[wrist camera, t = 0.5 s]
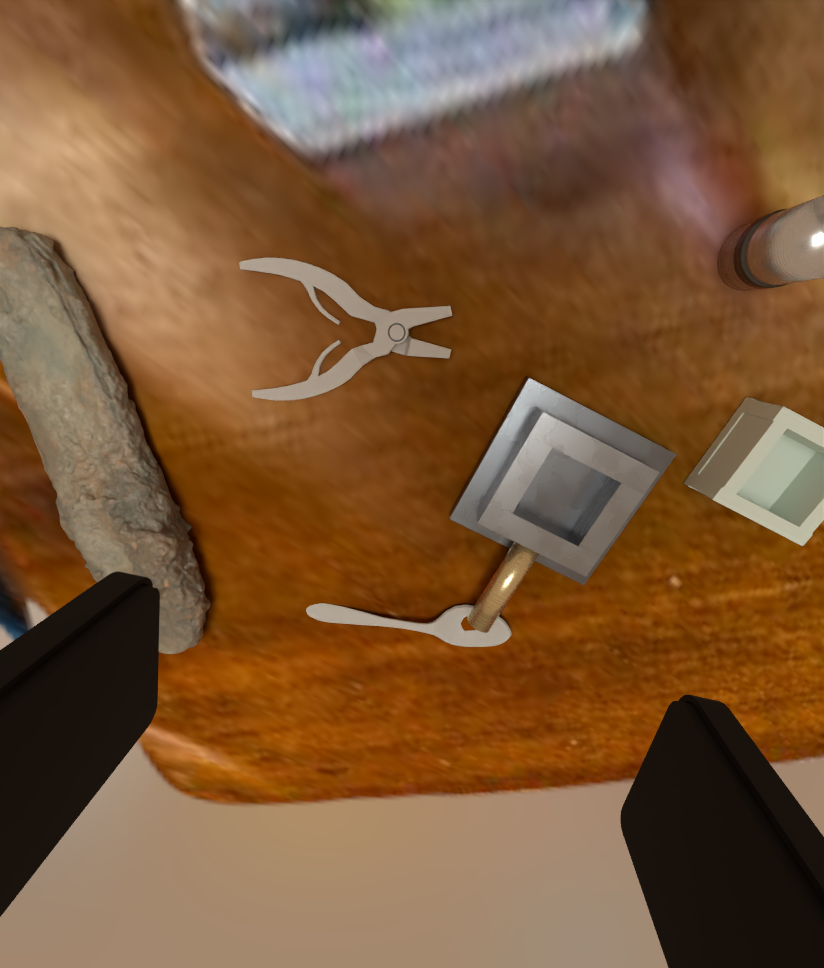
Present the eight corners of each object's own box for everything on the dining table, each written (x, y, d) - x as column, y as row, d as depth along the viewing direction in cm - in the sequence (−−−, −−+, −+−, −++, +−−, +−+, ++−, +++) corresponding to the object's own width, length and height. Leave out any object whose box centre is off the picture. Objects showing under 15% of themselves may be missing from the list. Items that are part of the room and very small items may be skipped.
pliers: (233, 255, 32) (454, 253, 31) (243, 259, 33) (454, 257, 32) (248, 401, 35) (449, 404, 34) (256, 398, 36) (449, 401, 35)
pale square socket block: (746, 396, 33) (784, 405, 29) (831, 442, 34) (880, 456, 30) (683, 483, 35) (711, 500, 31) (764, 524, 36) (801, 547, 32)
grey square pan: (526, 376, 34) (534, 380, 30) (669, 450, 35) (692, 463, 31) (413, 576, 40) (410, 599, 36) (538, 636, 40) (546, 664, 37)
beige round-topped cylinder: (744, 208, 30) (827, 171, 23) (799, 239, 30) (898, 212, 23) (702, 273, 31) (770, 256, 24) (756, 303, 31) (838, 294, 25)
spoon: (507, 644, 41) (509, 656, 40) (278, 625, 43) (272, 637, 41) (511, 603, 40) (514, 614, 38) (276, 585, 41) (269, 595, 40)
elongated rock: (93, 216, 35) (-12, 255, 37) (26, 191, 30) (-91, 239, 32) (243, 631, 42) (150, 645, 44) (210, 668, 37) (107, 682, 39)
